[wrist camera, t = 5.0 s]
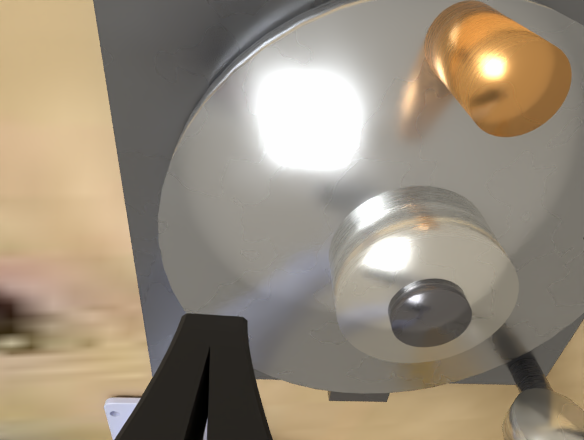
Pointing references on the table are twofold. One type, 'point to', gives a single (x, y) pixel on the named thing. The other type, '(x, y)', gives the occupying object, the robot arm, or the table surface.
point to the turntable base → (170, 123)
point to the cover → (419, 276)
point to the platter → (380, 173)
